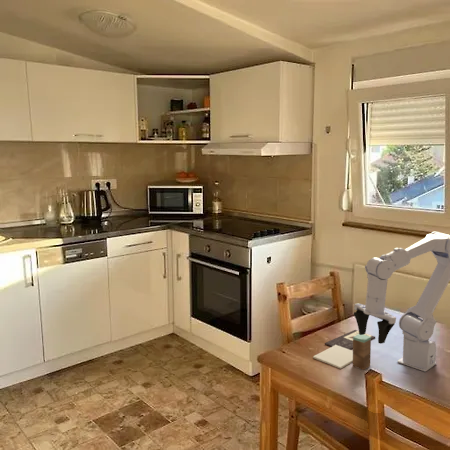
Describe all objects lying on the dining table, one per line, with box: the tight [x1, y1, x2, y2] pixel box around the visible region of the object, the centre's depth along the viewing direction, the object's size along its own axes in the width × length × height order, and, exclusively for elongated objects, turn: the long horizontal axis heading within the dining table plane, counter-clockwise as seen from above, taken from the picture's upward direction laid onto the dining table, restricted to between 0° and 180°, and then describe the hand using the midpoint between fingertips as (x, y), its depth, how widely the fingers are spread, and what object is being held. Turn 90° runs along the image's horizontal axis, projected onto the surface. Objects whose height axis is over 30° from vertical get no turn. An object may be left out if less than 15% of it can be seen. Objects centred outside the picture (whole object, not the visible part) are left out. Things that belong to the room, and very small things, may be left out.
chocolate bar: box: [324, 329, 376, 351], centre depth 168 cm, size 9×1×18 cm
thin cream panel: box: [312, 345, 353, 370], centre depth 155 cm, size 11×13×1 cm
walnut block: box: [352, 334, 372, 371], centre depth 148 cm, size 4×4×10 cm
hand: (371, 338), depth 143 cm, fingers open, 7 cm apart
